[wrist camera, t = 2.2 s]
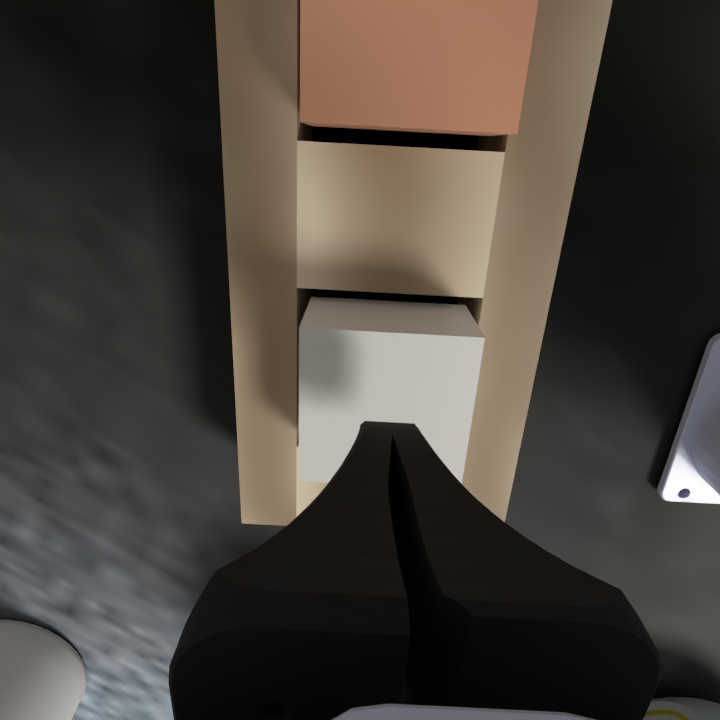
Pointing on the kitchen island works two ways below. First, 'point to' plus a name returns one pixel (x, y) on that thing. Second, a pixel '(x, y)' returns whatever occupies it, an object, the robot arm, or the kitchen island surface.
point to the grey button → (385, 377)
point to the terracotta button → (415, 64)
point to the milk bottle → (38, 674)
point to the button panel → (391, 235)
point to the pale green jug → (682, 709)
